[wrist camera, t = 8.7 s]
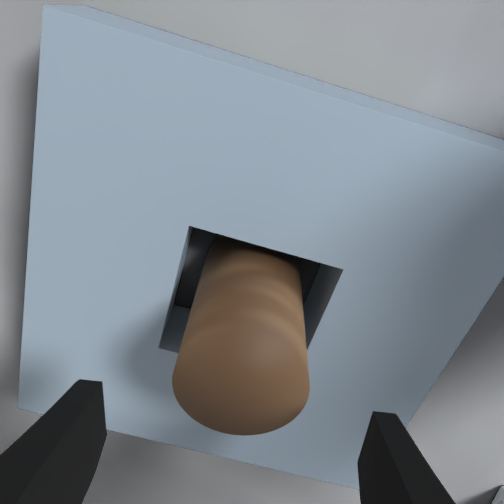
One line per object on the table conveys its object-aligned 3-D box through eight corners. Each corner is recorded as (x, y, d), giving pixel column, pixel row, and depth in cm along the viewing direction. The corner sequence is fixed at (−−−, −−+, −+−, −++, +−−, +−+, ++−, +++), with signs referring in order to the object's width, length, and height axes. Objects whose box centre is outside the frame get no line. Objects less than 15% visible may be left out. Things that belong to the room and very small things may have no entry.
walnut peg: (305, 229, 19) (320, 340, 12) (292, 310, 20) (299, 441, 14) (207, 219, 19) (172, 325, 12) (203, 301, 20) (171, 428, 14)
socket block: (524, 146, 17) (571, 172, 14) (354, 437, 24) (364, 491, 21) (84, 5, 15) (43, 4, 12) (48, 361, 23) (17, 408, 20)
